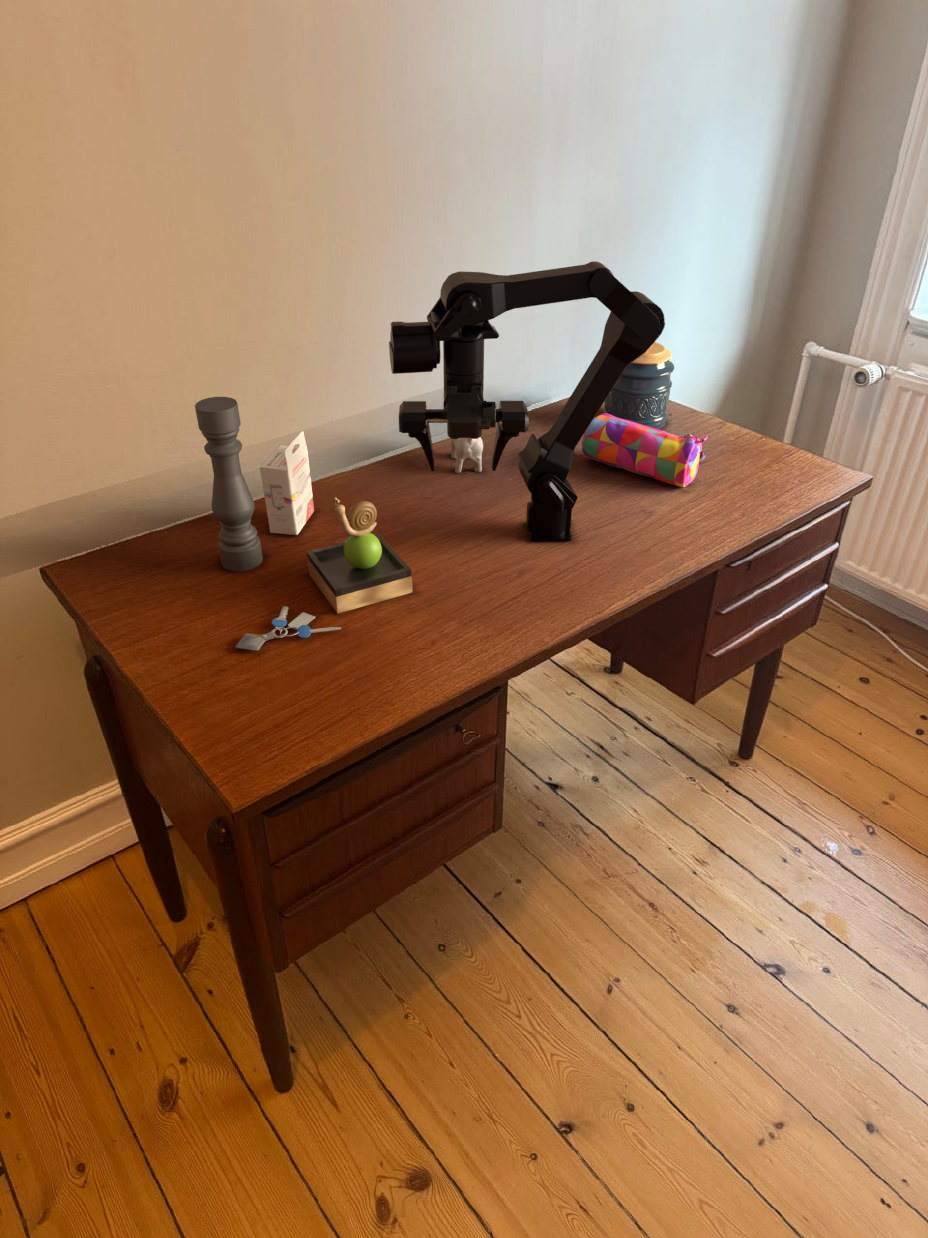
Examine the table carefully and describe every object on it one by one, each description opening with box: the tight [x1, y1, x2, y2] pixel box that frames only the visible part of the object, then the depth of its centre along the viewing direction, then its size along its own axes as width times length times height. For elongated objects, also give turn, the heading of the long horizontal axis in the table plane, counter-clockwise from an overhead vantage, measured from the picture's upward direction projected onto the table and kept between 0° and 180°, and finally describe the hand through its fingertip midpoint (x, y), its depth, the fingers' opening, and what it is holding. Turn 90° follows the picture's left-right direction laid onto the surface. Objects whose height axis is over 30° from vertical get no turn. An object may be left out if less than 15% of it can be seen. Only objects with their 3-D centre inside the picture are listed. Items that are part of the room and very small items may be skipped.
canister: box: [602, 341, 675, 430], centre depth 174 cm, size 13×13×18 cm
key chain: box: [235, 605, 342, 652], centre depth 119 cm, size 14×8×1 cm, turn 114°
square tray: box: [306, 533, 413, 614], centre depth 128 cm, size 12×12×4 cm
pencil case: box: [581, 412, 709, 488], centre depth 157 cm, size 22×9×9 cm, turn 58°
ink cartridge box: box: [258, 430, 315, 536], centre depth 140 cm, size 9×5×15 cm, turn 168°
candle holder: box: [194, 396, 264, 572], centre depth 127 cm, size 6×6×25 cm
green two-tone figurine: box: [333, 496, 382, 569], centre depth 123 cm, size 5×6×12 cm
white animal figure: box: [450, 436, 484, 474], centre depth 161 cm, size 5×13×11 cm, turn 8°
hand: (463, 470), depth 133 cm, fingers open, 9 cm apart
